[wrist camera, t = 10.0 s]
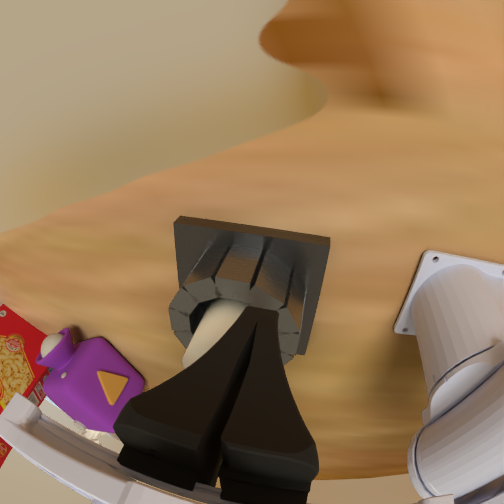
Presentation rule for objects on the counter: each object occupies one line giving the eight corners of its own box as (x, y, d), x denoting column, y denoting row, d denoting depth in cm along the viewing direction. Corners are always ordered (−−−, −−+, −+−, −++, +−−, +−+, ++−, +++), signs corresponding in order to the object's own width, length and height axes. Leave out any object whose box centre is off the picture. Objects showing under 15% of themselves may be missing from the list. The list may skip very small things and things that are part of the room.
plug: (274, 291, 21) (256, 358, 16) (267, 335, 23) (249, 398, 18) (212, 278, 22) (179, 339, 17) (211, 322, 24) (185, 382, 19)
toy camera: (75, 302, 32) (25, 360, 24) (158, 376, 36) (125, 440, 27) (54, 330, 37) (16, 377, 29) (123, 390, 41) (94, 441, 32)
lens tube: (330, 237, 21) (330, 281, 17) (305, 345, 27) (299, 392, 23) (180, 215, 23) (146, 250, 19) (189, 322, 29) (167, 363, 24)
